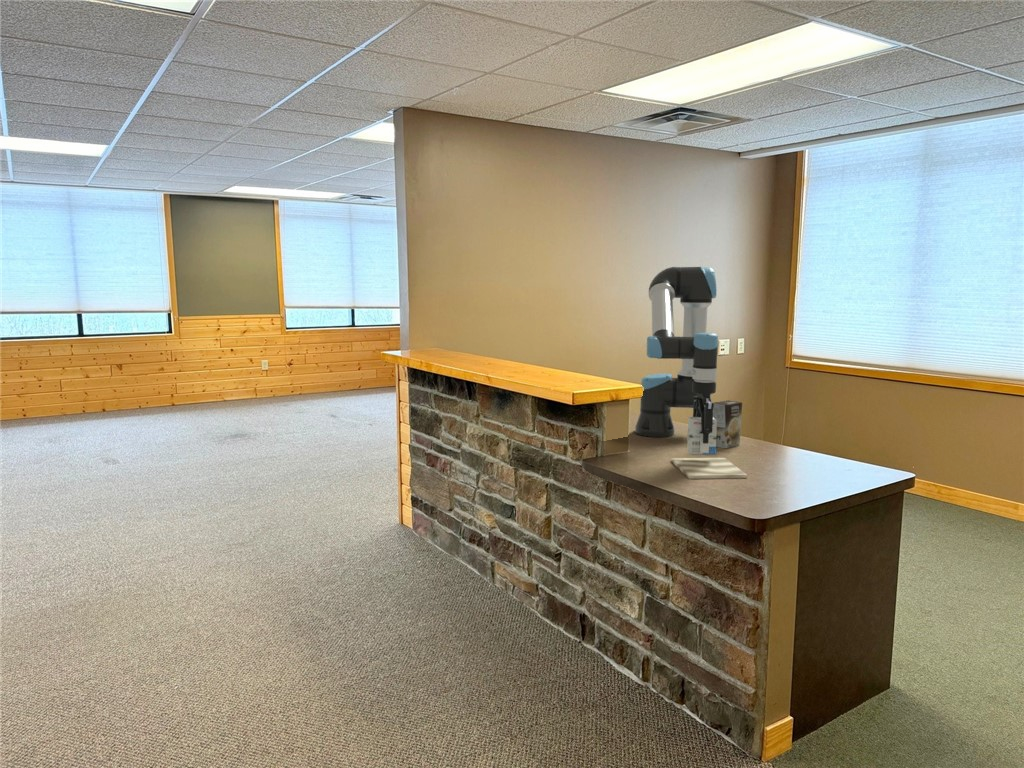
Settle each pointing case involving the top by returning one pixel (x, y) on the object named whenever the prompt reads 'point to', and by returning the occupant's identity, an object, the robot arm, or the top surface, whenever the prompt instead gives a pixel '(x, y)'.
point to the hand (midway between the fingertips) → (701, 450)
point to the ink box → (694, 436)
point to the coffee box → (727, 423)
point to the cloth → (708, 468)
